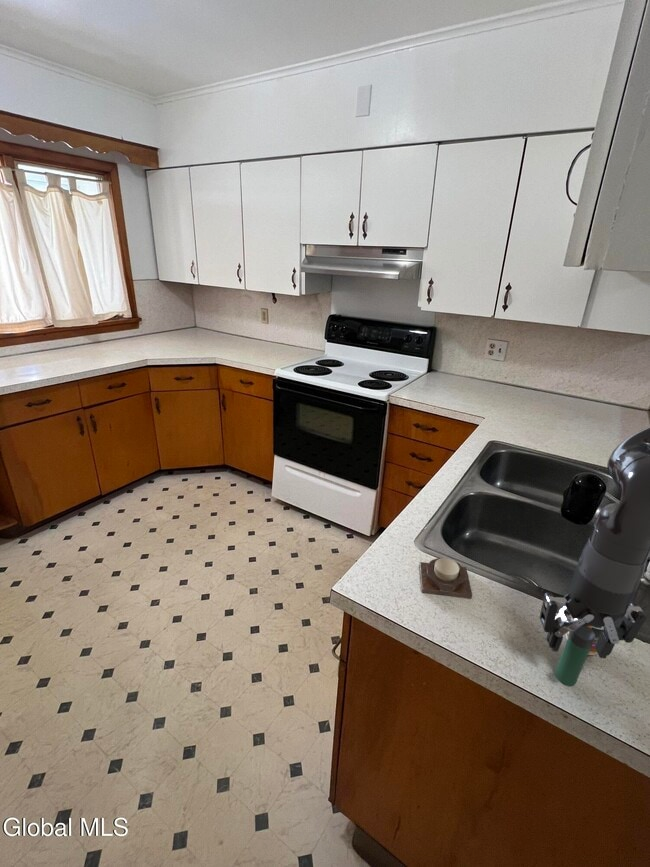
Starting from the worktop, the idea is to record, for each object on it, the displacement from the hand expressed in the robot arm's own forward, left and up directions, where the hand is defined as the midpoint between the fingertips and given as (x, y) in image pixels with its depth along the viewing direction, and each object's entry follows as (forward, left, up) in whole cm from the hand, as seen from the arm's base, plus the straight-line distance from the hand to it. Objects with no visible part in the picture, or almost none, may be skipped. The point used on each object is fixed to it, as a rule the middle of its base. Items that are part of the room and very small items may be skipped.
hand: (576, 649), depth 69 cm
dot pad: (+18, -19, -4) cm, 27 cm away
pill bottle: (-6, -8, -7) cm, 12 cm away
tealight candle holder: (+18, -19, -7) cm, 27 cm away
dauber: (0, 0, -7) cm, 7 cm away
